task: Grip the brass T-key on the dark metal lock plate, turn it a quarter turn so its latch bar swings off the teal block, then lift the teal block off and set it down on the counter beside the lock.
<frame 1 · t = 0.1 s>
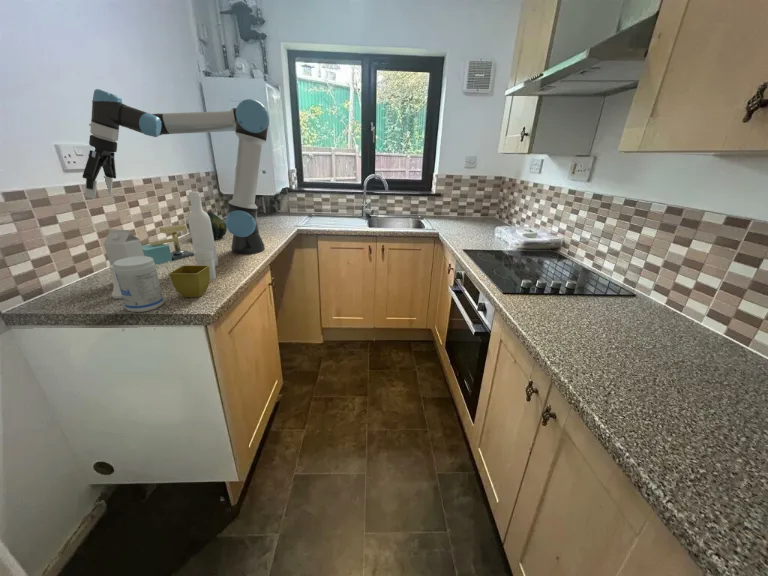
hand: (98, 195, 119), 28 cm above the worktop, tool tilted 20°, fingers open, 13 cm apart
salt shaker: (127, 294, 104), on the worktop
lock plate: (179, 256, 144), on the worktop
cup: (208, 278, 120), on the worktop
supplement tub: (146, 306, 96), on the worktop
flower pot: (195, 295, 105), on the worktop
teal block: (156, 262, 135), on the worktop
key: (169, 240, 138), point 8 cm above the worktop, hinge at 0.0°
squash: (213, 238, 176), on the worktop
bottle: (208, 266, 132), on the worktop
milk carton: (134, 282, 114), on the worktop
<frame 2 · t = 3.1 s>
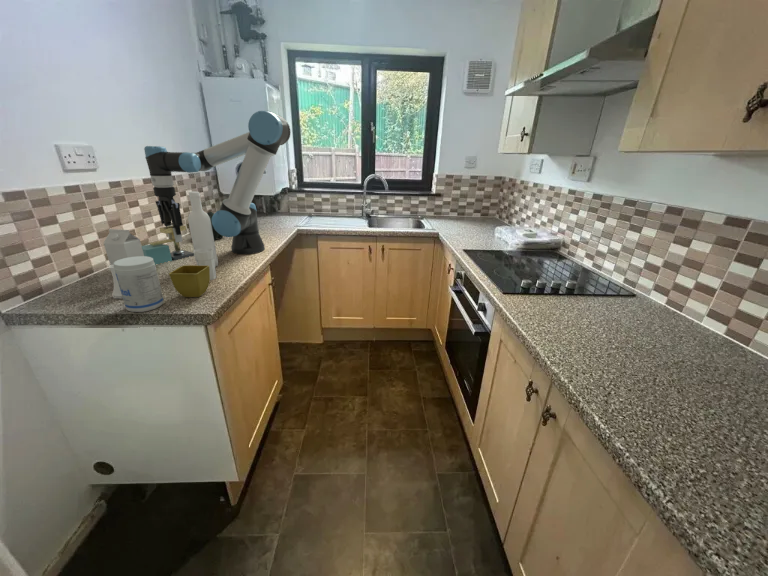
hand: (175, 240, 141), 7 cm above the worktop, tool pointing down, fingers closed on key, 4 cm apart
key: (169, 240, 138), point 8 cm above the worktop, hinge at 0.0°, touching gripper
everything else where it was.
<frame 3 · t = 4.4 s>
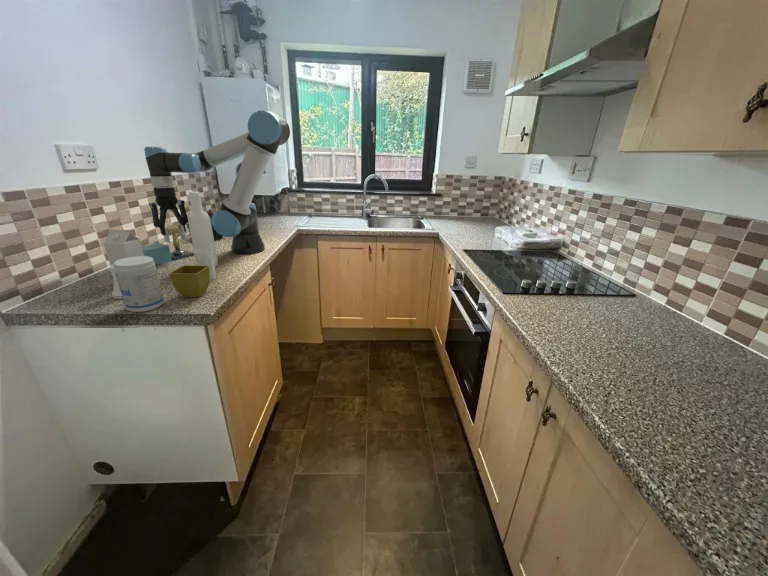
hand: (175, 240, 141), 7 cm above the worktop, tool pointing down, fingers closed on key, 6 cm apart
key: (175, 240, 138), point 8 cm above the worktop, hinge at 60.0°, touching gripper
everything else where it was.
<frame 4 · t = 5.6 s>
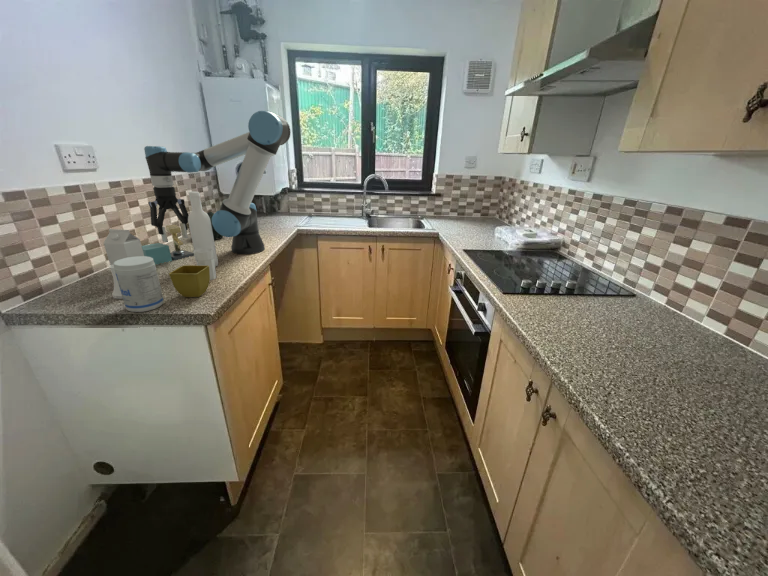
hand: (175, 239, 141), 8 cm above the worktop, tool pointing down, fingers open, 8 cm apart
key: (176, 240, 139), point 8 cm above the worktop, hinge at 69.2°
everything else where it was.
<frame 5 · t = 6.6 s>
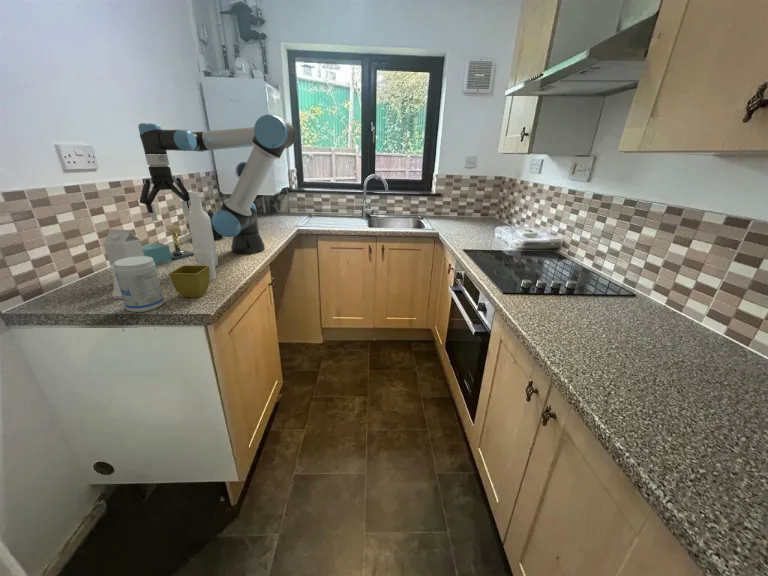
hand: (171, 218, 137), 17 cm above the worktop, tool pointing down, fingers open, 13 cm apart
nothing on the worktop moved.
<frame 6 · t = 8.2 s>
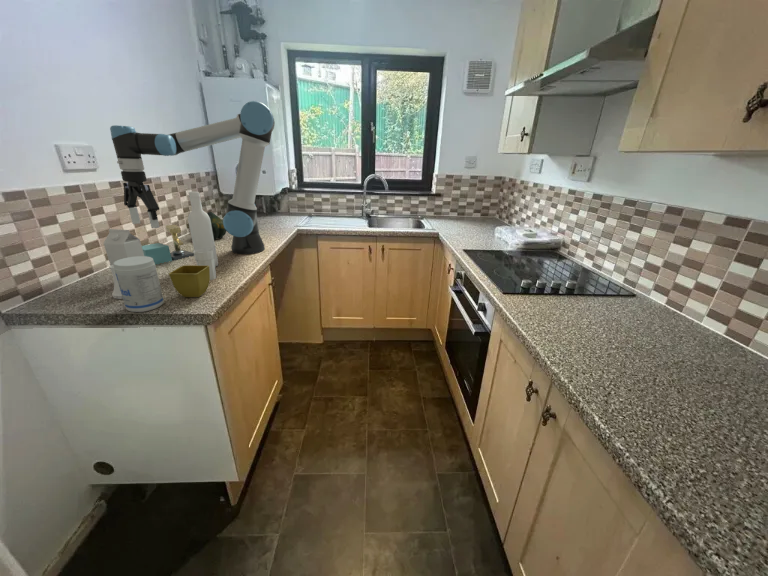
hand: (146, 225, 129), 16 cm above the worktop, tool pointing down, fingers open, 13 cm apart
nothing on the worktop moved.
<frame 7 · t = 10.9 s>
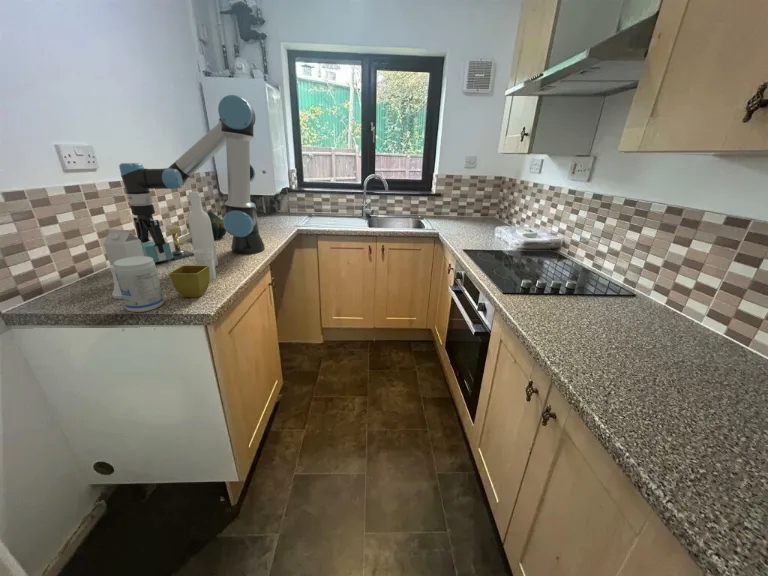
hand: (156, 258, 135), 1 cm above the worktop, tool pointing down, fingers closed on teal block, 8 cm apart
teal block: (156, 259, 135), point 1 cm above the worktop, touching gripper
everything else where it was.
when the fingers open (1 cm above the worktop, at t = 17.5 s): teal block stays where it is, on the worktop.
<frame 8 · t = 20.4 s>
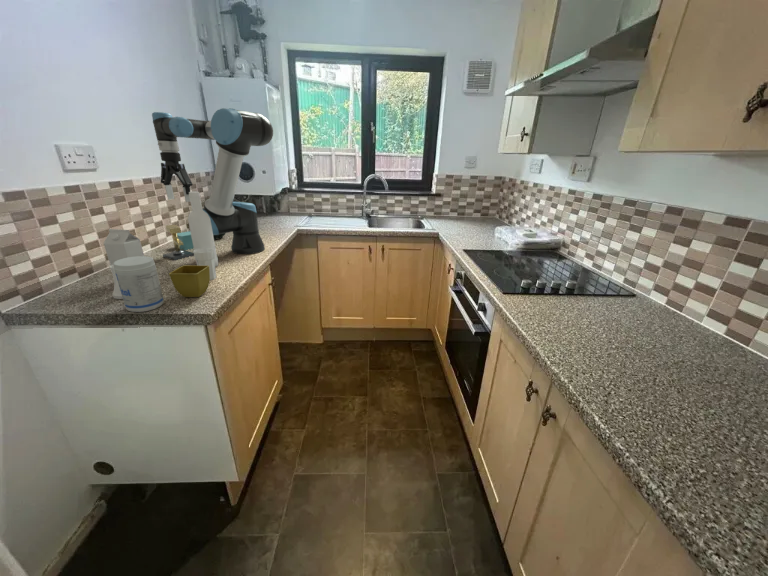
hand: (179, 200, 149), 23 cm above the worktop, tool pointing down, fingers open, 13 cm apart
teal block: (189, 247, 158), on the worktop
everything else where it was.
at the end: key at +69° (first picture: +0°); teal block inside the target area (0.1 cm from its centre), on the worktop; teal block tilted 0° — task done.
